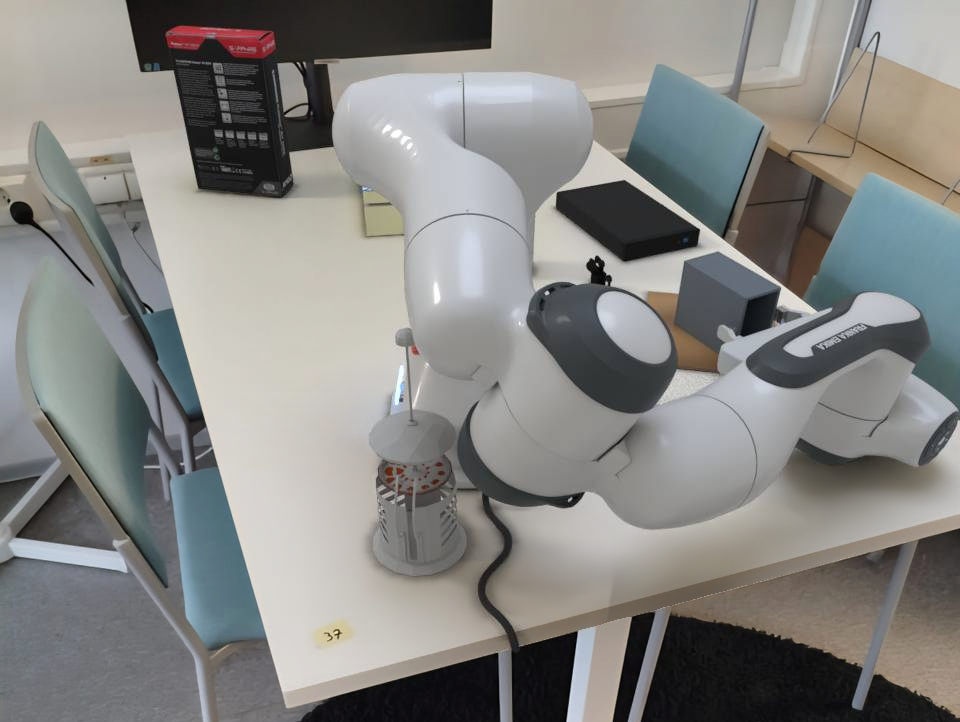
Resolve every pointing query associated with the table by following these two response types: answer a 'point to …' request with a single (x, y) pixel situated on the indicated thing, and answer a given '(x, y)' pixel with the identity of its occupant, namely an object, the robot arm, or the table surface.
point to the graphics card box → (232, 109)
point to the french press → (416, 489)
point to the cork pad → (684, 336)
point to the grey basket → (723, 299)
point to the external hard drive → (627, 220)
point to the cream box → (380, 215)
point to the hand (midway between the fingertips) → (749, 319)
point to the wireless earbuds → (598, 271)
